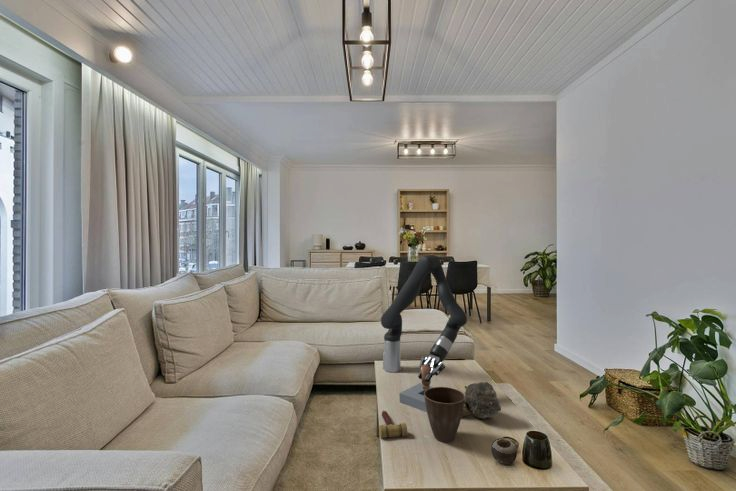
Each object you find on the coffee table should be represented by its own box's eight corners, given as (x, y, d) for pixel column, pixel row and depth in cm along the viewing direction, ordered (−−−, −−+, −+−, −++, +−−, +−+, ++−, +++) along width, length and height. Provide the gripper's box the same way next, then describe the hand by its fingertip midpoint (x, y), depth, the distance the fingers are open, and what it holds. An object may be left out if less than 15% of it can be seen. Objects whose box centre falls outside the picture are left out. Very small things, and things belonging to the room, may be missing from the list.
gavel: (371, 406, 156) (394, 404, 157) (371, 417, 155) (394, 415, 157) (381, 428, 135) (407, 425, 136) (381, 441, 135) (407, 438, 136)
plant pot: (436, 423, 147) (436, 383, 147) (471, 435, 138) (471, 393, 138) (416, 438, 136) (416, 395, 135) (453, 453, 126) (453, 407, 126)
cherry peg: (419, 388, 166) (419, 366, 166) (425, 385, 169) (424, 364, 169) (427, 391, 163) (427, 368, 163) (432, 388, 166) (432, 366, 166)
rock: (497, 375, 152) (465, 372, 149) (507, 411, 143) (473, 409, 139) (476, 392, 165) (445, 389, 162) (484, 426, 155) (452, 424, 152)
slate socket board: (399, 401, 167) (399, 393, 167) (419, 391, 178) (419, 383, 178) (432, 414, 154) (432, 405, 154) (452, 402, 166) (452, 393, 166)
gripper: (426, 340, 176) (407, 370, 169) (448, 346, 164) (429, 379, 158) (434, 349, 179) (416, 379, 172) (456, 356, 167) (438, 389, 161)
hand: (422, 379), depth 165 cm, fingers closed on cherry peg, 4 cm apart
